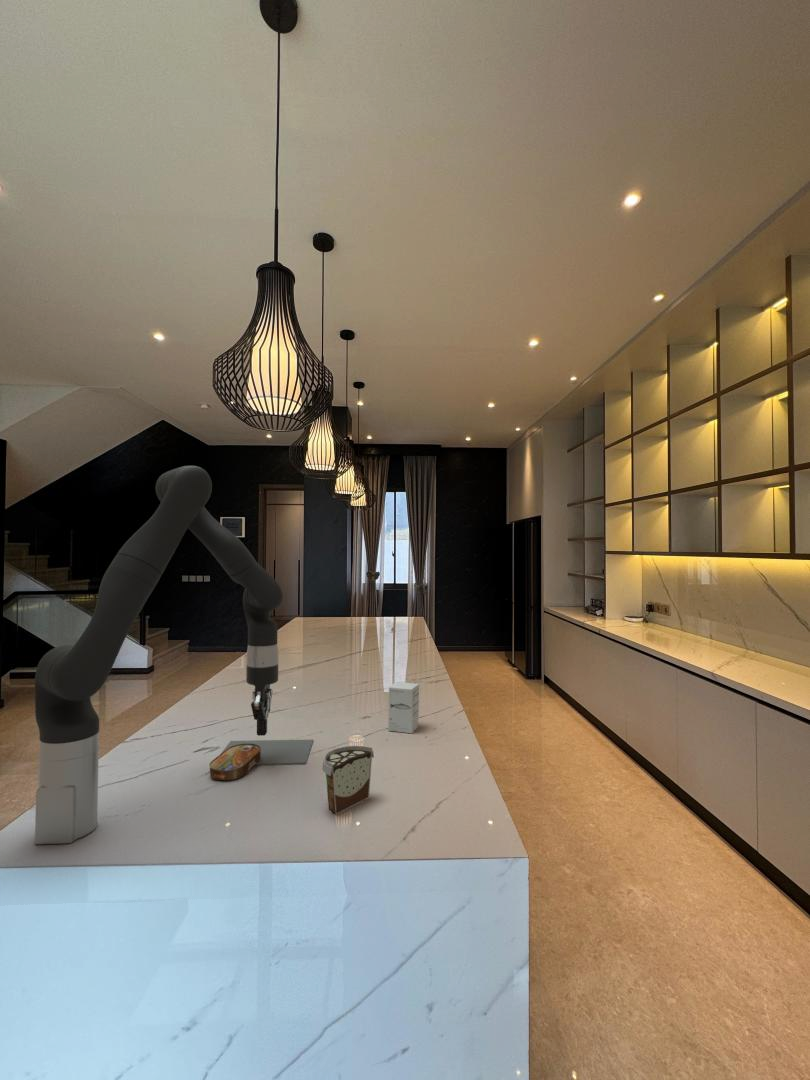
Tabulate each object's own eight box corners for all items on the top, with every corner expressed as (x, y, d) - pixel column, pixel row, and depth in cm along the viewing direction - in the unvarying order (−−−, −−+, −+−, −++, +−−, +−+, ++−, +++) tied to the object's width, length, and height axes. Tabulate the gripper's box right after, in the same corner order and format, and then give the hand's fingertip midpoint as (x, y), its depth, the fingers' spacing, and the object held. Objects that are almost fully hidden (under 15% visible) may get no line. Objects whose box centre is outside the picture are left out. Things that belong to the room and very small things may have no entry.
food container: (352, 787, 115) (353, 740, 115) (373, 795, 111) (374, 747, 111) (308, 808, 105) (309, 757, 105) (330, 818, 101) (330, 765, 101)
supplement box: (387, 731, 151) (387, 687, 152) (395, 723, 158) (395, 681, 159) (412, 734, 149) (412, 688, 149) (419, 726, 156) (419, 682, 156)
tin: (236, 771, 116) (201, 765, 118) (235, 786, 117) (200, 779, 118) (267, 744, 131) (236, 739, 133) (266, 757, 131) (235, 751, 133)
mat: (305, 764, 127) (305, 762, 127) (212, 765, 126) (212, 764, 126) (313, 740, 143) (313, 739, 143) (230, 742, 142) (230, 740, 142)
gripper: (272, 668, 123) (272, 743, 122) (282, 657, 136) (282, 725, 136) (239, 668, 122) (239, 744, 122) (253, 657, 136) (252, 725, 135)
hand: (262, 734), depth 129 cm, fingers closed
